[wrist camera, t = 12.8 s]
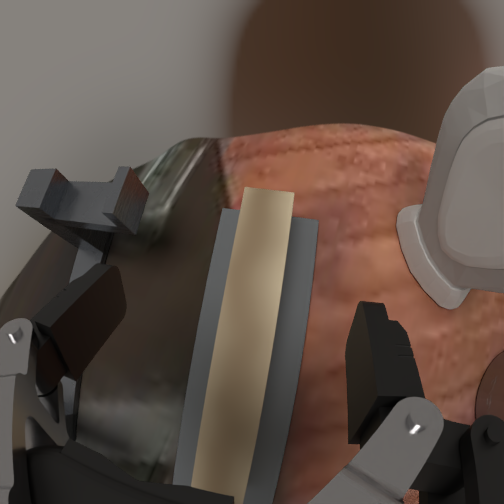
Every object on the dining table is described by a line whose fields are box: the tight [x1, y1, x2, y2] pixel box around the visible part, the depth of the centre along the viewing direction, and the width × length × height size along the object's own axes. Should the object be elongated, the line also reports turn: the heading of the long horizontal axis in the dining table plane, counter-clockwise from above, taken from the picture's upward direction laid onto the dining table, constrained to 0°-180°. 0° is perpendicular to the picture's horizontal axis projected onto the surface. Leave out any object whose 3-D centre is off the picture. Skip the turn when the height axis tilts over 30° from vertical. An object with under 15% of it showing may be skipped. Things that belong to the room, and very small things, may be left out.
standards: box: [16, 167, 149, 441], centre depth 18 cm, size 10×21×10 cm, turn 171°
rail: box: [191, 187, 294, 504], centre depth 20 cm, size 4×22×4 cm, turn 171°
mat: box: [172, 208, 319, 504], centre depth 21 cm, size 8×24×1 cm, turn 171°
